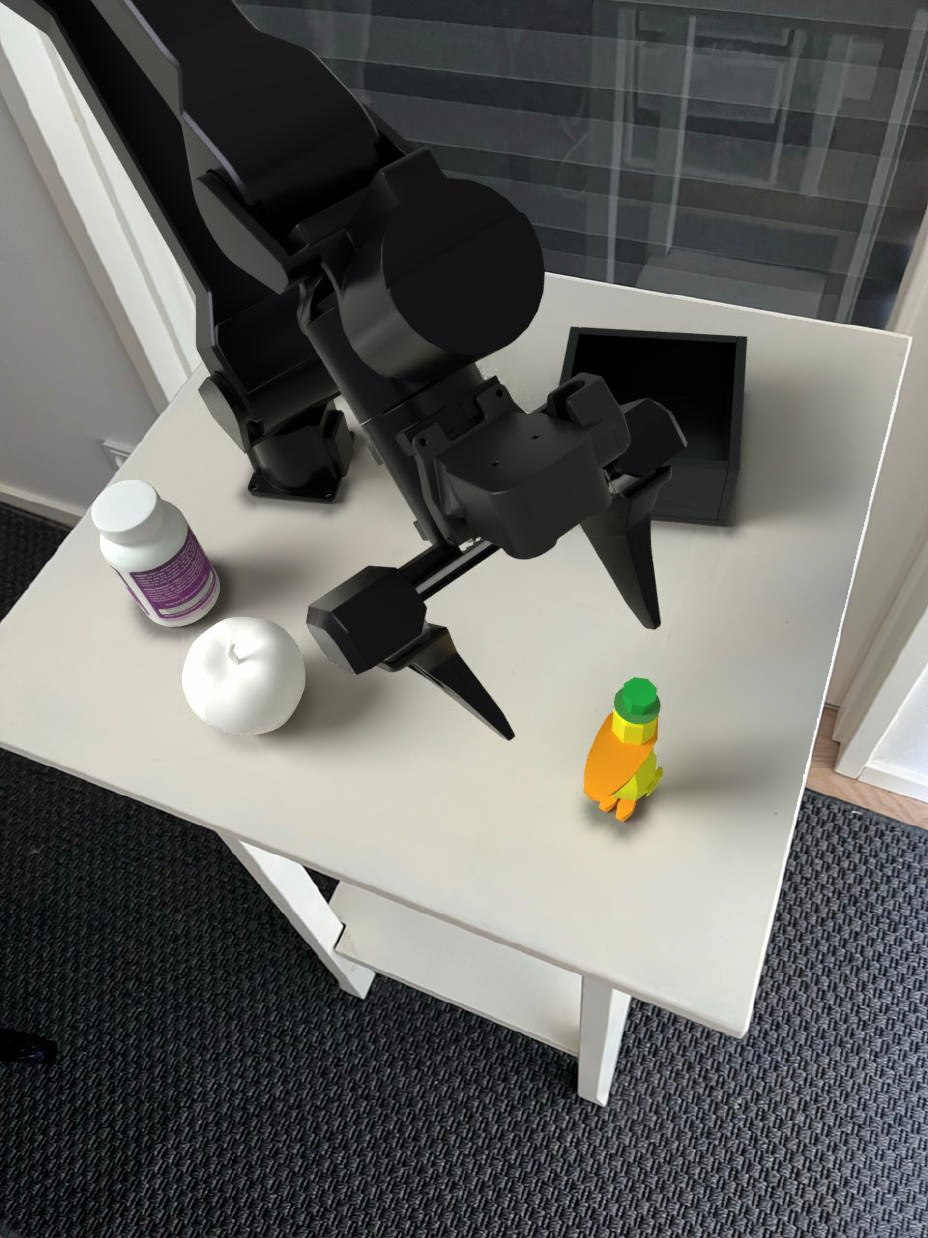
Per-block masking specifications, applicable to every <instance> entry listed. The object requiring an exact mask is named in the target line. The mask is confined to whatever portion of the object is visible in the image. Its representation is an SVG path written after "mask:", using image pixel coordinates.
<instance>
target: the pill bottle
mask: <svg viewBox="0 0 928 1238" xmlns="http://www.w3.org/2000/svg"><path fill="white" fill-rule="evenodd" d="M91 519H92V522H93V523H94V525H95V526H96V528H97V530H98V532H99V533H100V535H99V547H100V550H101V553H102V556H103V558H104V559H105V561H106V562H107V564H108V565H109V566H110V568H111V569H112V570H113V571H114V573H115V574H116V576H117V578H119V580H120V581H121V583H122V584H123V586H124V587H125V589H126V590H127V591H128V592H129V594H130V595H131V596H132V598H133V599H134V600H135V601H136V603H137V604H138V605H139V607H140V608H141V609H142V611H143V613H145V614H146V616H147V617H148V618H149V619H150V620H152V622H154V623H156V624H158V625H161V626H163V627H168V628H173V627H175V628H176V627H184V626H187V625H190V624H193V623H196V622H197V621H199V620H201V619H202V618H203V617H205V616H206V615H207V614H208V613H209V612H210V611H211V610H212V608H213V607H214V606H215V604H216V603H217V600H218V599H219V595H220V593H221V582H220V579H219V575H218V574H217V572H216V570H215V568H214V566H213V564H212V563H211V561H210V559H209V557H208V555H207V554H206V552H205V549H204V547H203V545H201V543H200V541H199V540H198V537H197V536H196V534H195V533H194V530H193V529H192V527H191V525H190V524H189V522H188V520H187V518H186V516H185V515H184V514H183V512H182V511H181V510H180V509H179V508H178V507H177V506H176V505H175V504H173V503H172V502H170V501H168V500H165V499H162V498H161V496H160V494H159V493H158V491H157V489H156V488H155V487H154V486H153V485H152V484H150V483H149V482H147V481H145V480H142V479H136V478H135V479H125V480H121V481H118V482H115V483H113V484H111V485H109V486H108V487H107V488H105V489H104V490H102V492H100V494H98V496H97V497H96V498H95V500H94V502H93V504H92V507H91Z"/></svg>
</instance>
